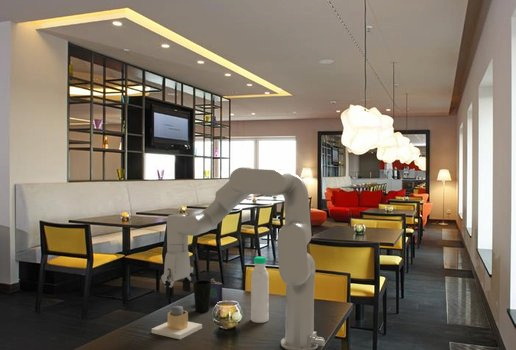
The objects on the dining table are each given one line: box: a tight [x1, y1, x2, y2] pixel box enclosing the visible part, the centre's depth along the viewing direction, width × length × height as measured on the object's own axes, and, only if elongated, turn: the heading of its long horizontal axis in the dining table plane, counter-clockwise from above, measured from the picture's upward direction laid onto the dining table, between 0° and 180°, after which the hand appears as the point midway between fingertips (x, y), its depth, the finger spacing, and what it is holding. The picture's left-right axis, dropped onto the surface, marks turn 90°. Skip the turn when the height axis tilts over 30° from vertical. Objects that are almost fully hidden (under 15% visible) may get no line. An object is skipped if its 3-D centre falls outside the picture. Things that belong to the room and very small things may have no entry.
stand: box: [151, 305, 203, 340], centre depth 169 cm, size 13×13×8 cm
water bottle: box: [250, 256, 270, 324], centre depth 180 cm, size 7×7×25 cm
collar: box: [166, 309, 189, 330], centre depth 169 cm, size 7×7×5 cm
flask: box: [210, 278, 223, 305], centre depth 205 cm, size 9×3×11 cm, turn 76°
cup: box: [192, 279, 211, 314], centre depth 193 cm, size 8×8×12 cm
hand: (178, 294), depth 168 cm, fingers open, 9 cm apart
